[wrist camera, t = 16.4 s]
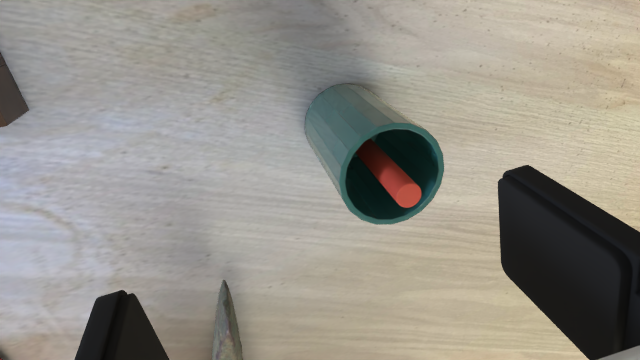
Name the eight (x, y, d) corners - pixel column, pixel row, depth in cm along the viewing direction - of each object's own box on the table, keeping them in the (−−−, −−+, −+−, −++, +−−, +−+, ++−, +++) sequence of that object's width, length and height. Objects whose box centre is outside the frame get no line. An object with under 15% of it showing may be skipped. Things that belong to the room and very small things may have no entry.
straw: (335, 121, 39) (394, 187, 26) (353, 116, 39) (420, 180, 26) (339, 138, 39) (398, 211, 27) (356, 133, 40) (423, 203, 27)
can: (296, 94, 38) (330, 139, 27) (376, 74, 39) (439, 110, 28) (313, 169, 41) (349, 237, 30) (386, 149, 42) (447, 208, 31)
